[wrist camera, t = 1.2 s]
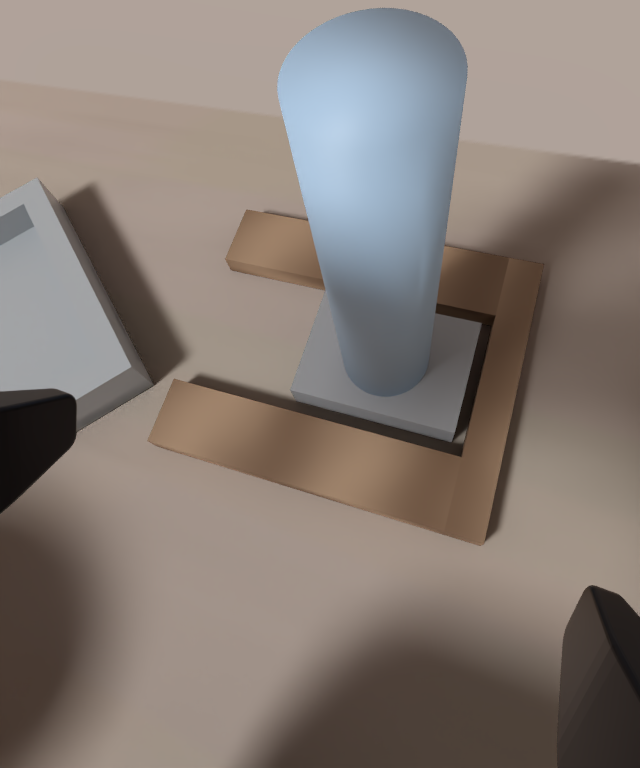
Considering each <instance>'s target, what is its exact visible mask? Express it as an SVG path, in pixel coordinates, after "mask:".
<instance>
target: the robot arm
mask: <svg viewBox="0 0 640 768" xmlns="http://www.w3.org/2000/svg"><path fill="white" fill-rule="evenodd" d="M76 433H77V402H76V399H75V397H74V396H73V395H71V394H69V393H66V392H64V391H61V390H58V389H54V388H48V389H32V390H16V391H0V514H1V513H2V512H3V511H4V510H5V509H7V508H8V507H9V506H10V505H11V504H12V503H14V502H15V501H16V500H17V499H18V498H19V497H20V496H21V495H22V494H23V493H24V492H25V491H26V490H27V489H28V488H29V487H30V486H31V485H33V484H34V483H35V482H36V481H37V480H38V479H39V478H40V477H41V476H42V475H43V474H44V473H45V472H46V471H47V470H48V469H49V468H50V467H51V466H52V465H53V464H54V463H55V462H56V461H57V460H58V459H59V458H60V457H61V456H62V455H64V454H65V453H66V452H67V451H68V450H69V449H70V448H71V446H72V445H73V443H74V441H75V439H76ZM557 761H558V768H640V617H639V616H638V615H637V613H636V612H635V611H634V610H633V609H632V608H631V607H630V605H629V604H628V603H627V602H626V601H625V600H624V599H623V598H622V597H621V596H620V595H619V594H617V593H614V592H611V591H608V590H606V589H603V588H600V587H597V586H594V585H591V586H588V587H587V588H586V589H585V590H584V592H583V594H582V596H581V598H580V600H579V602H578V604H577V606H576V608H575V610H574V612H573V614H572V616H571V618H570V620H569V622H568V624H567V627H566V629H565V633H564V637H563V646H562V663H561V680H560V697H559V714H558V732H557Z"/></svg>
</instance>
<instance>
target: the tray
mask: <svg viewBox="0 0 640 768" xmlns="http://www.w3.org/2000/svg"><path fill="white" fill-rule="evenodd" d="M152 386H154V384H153V382H152V380H151V378H150V376H149V375H148V373H147V371H146V369H145V367H144V365H143V363H142V361H141V359H140V357H139V355H138V353H137V351H136V349H135V347H134V345H133V343H132V341H131V339H130V337H129V335H128V333H127V331H126V329H125V328H124V326H123V324H122V322H121V320H120V318H119V316H118V314H117V312H116V310H115V308H114V306H113V304H112V302H111V300H110V298H109V296H108V294H107V292H106V290H105V288H104V286H103V284H102V283H101V281H100V279H99V277H98V275H97V273H96V271H95V269H94V267H93V265H92V263H91V261H90V259H89V257H88V255H87V253H86V251H85V249H84V247H83V245H82V243H81V241H80V239H79V237H78V236H77V234H76V232H75V230H74V228H73V226H72V224H71V222H70V220H69V218H68V216H67V214H66V212H65V210H64V208H63V206H62V205H61V204H60V203H59V202H58V201H57V199H56V198H55V197H54V196H53V195H52V194H51V193H50V192H49V190H48V189H47V188H46V187H45V186H44V185H43V184H42V182H41V181H40V180H39V179H38V178H35V179H33V180H32V181H30V182H28V183H26V184H24V185H23V186H21V187H19V188H17V189H15V190H14V191H12V192H10V193H8V194H6V195H5V196H3V197H1V198H0V391H16V390H32V389H48V388H54V389H58V390H61V391H64V392H66V393H69V394H71V395H73V396H74V397H75V399H76V402H77V431H79V430H80V429H82V428H84V427H85V426H87V425H89V424H90V423H92V422H94V421H95V420H97V419H99V418H100V417H102V416H104V415H105V414H107V413H109V412H110V411H112V410H114V409H115V408H117V407H119V406H120V405H122V404H124V403H125V402H127V401H129V400H130V399H132V398H134V397H135V396H137V395H139V394H140V393H142V392H144V391H145V390H147V389H149V388H150V387H152Z"/></svg>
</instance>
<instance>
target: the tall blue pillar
mask: <svg viewBox="0 0 640 768" xmlns="http://www.w3.org/2000/svg"><path fill="white" fill-rule="evenodd" d="M467 67H468V66H467V59H466V55H465V52H464V49H463V47H462V46H461V44H460V42H459V40H458V39H457V38H456V37H455V35H454V34H453V33H452V32H451V31H450V30H449V29H448V28H446V27H445V26H444V25H442V24H441V23H439V22H438V21H436V20H434V19H432V18H430V17H428V16H425V15H423V14H420V13H417V12H413V11H409V10H403V9H394V8H376V9H367V10H360V11H356V12H351V13H348V14H345V15H342V16H339V17H336V18H334V19H332V20H330V21H327V22H325V23H323V24H322V25H320V26H318V27H316V28H315V29H313V30H312V31H311V32H309V33H308V34H307V35H305V37H303V38H302V39H301V40H300V41H299V42H298V43H297V44H296V45H295V46H294V47H293V48H292V50H291V51H290V53H289V54H288V55H287V57H286V59H285V61H284V62H283V64H282V67H281V70H280V73H279V77H278V89H277V91H278V97H279V102H280V107H281V110H282V115H283V119H284V123H285V127H286V131H287V135H288V139H289V143H290V147H291V151H292V155H293V159H294V163H295V167H296V172H297V176H298V180H299V184H300V188H301V192H302V196H303V200H304V204H305V208H306V212H307V216H308V220H309V224H310V228H311V233H312V237H313V241H314V245H315V249H316V253H317V257H318V261H319V265H320V269H321V273H322V277H323V281H324V285H325V289H326V290H325V293H324V296H323V299H322V301H321V304H320V307H319V310H318V313H317V316H316V318H315V321H314V324H313V327H312V330H311V333H310V335H309V338H308V341H307V344H306V347H305V350H304V352H303V355H302V358H301V361H300V364H299V367H298V369H297V372H296V375H295V378H294V381H293V383H292V386H291V389H290V390H291V392H292V394H293V396H294V398H295V400H296V401H297V402H301V403H305V404H309V405H312V406H316V407H320V408H324V409H327V410H331V411H335V412H339V413H342V414H346V415H350V416H353V417H357V418H361V419H365V420H368V421H372V422H376V423H380V424H383V425H387V426H391V427H395V428H398V429H402V430H406V431H410V432H413V433H417V434H421V435H425V436H428V437H432V438H436V439H440V440H443V441H447V442H452V439H453V437H454V434H455V430H456V426H457V422H458V418H459V414H460V410H461V406H462V402H463V398H464V393H465V389H466V385H467V381H468V377H469V373H470V369H471V365H472V361H473V357H474V353H475V349H476V345H477V341H478V337H479V333H480V329H481V324H482V323H479V322H474V321H469V320H465V319H460V318H455V317H451V316H446V315H441V314H437V313H435V311H436V304H437V296H438V289H439V281H440V274H441V266H442V259H443V252H444V244H445V237H446V229H447V222H448V215H449V207H450V200H451V192H452V185H453V178H454V170H455V163H456V155H457V148H458V140H459V133H460V125H461V118H462V111H463V103H464V96H465V88H466V81H467Z"/></svg>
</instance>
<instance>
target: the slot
mask: <svg viewBox="0 0 640 768" xmlns="http://www.w3.org/2000/svg"><path fill="white" fill-rule="evenodd" d="M225 259H226V261H227V263H228V265H229V267H230V269H231V270H233V271H237V272H242V273H247V274H251V275H256V276H261V277H265V278H270V279H275V280H279V281H284V282H289V283H293V284H298V285H303V286H308V287H312V288H317V289H322V290H326V289H325V285H324V281H323V277H322V273H321V269H320V265H319V261H318V257H317V253H316V249H315V245H314V241H313V237H312V233H311V228H310V224H309V221H306V220H301V219H295V218H290V217H285V216H279V215H274V214H268V213H263V212H257V211H252V210H246V212H245V214H244V216H243V219H242V221H241V223H240V226H239V228H238V230H237V233H236V235H235V237H234V240H233V242H232V244H231V247H230V249H229V251H228V254H227V256H226V258H225ZM543 267H544V264H541V263H536V262H530V261H525V260H519V259H514V258H508V257H503V256H497V255H492V254H486V253H481V252H476V251H470V250H465V249H459V248H454V247H448V246H444V252H443V259H442V266H441V274H440V281H439V289H438V296H437V304H436V311H435V313H437V314H441V315H446V316H451V317H455V318H460V319H465V320H469V321H474V322H479V323H482V324H486V325H490V326H492V328H491V332H490V336H489V340H488V344H487V348H486V353H485V357H484V361H483V365H482V369H481V374H480V378H479V382H478V386H477V390H476V394H475V399H474V403H473V407H472V411H471V415H470V419H469V424H468V428H467V432H466V436H465V440H464V445H463V449H462V453H461V457H459V456H456V455H452V454H448V453H445V452H441V451H437V450H434V449H430V448H426V447H423V446H419V445H415V444H412V443H408V442H404V441H401V440H397V439H393V438H390V437H386V436H382V435H379V434H375V433H371V432H368V431H364V430H360V429H357V428H353V427H349V426H346V425H342V424H338V423H335V422H331V421H327V420H324V419H320V418H316V417H313V416H309V415H305V414H302V413H298V412H294V411H291V410H287V409H283V408H280V407H276V406H272V405H269V404H265V403H261V402H257V401H254V400H250V399H246V398H243V397H239V396H235V395H232V394H228V393H224V392H221V391H217V390H213V389H210V388H206V387H202V386H199V385H195V384H191V383H188V382H184V381H180V380H177V379H174V380H173V382H172V384H171V387H170V389H169V391H168V394H167V396H166V398H165V401H164V403H163V405H162V408H161V410H160V412H159V415H158V417H157V419H156V422H155V424H154V426H153V429H152V431H151V433H150V436H149V438H148V440H147V441H149V442H150V443H152V444H154V445H156V446H158V447H161V448H164V449H167V450H171V451H174V452H177V453H180V454H184V455H187V456H190V457H193V458H197V459H200V460H203V461H206V462H210V463H213V464H216V465H219V466H223V467H226V468H229V469H232V470H236V471H239V472H242V473H245V474H249V475H252V476H255V477H258V478H262V479H265V480H268V481H271V482H275V483H278V484H281V485H284V486H288V487H291V488H294V489H297V490H301V491H304V492H307V493H310V494H314V495H317V496H320V497H323V498H327V499H330V500H333V501H336V502H340V503H343V504H346V505H349V506H353V507H356V508H359V509H362V510H366V511H369V512H372V513H375V514H379V515H382V516H385V517H388V518H391V519H395V520H398V521H401V522H404V523H408V524H411V525H414V526H417V527H421V528H424V529H427V530H430V531H434V532H437V533H440V534H443V535H447V536H450V537H453V538H456V539H460V540H463V541H466V542H469V543H473V544H476V545H479V546H481V545H483V544H484V542H485V537H486V532H487V528H488V523H489V518H490V514H491V509H492V504H493V500H494V495H495V490H496V486H497V481H498V476H499V472H500V467H501V462H502V458H503V453H504V448H505V444H506V439H507V434H508V430H509V425H510V420H511V416H512V411H513V407H514V402H515V397H516V393H517V388H518V383H519V379H520V374H521V369H522V365H523V360H524V355H525V351H526V346H527V341H528V337H529V332H530V327H531V323H532V318H533V313H534V309H535V304H536V299H537V295H538V290H539V285H540V281H541V276H542V271H543Z"/></svg>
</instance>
